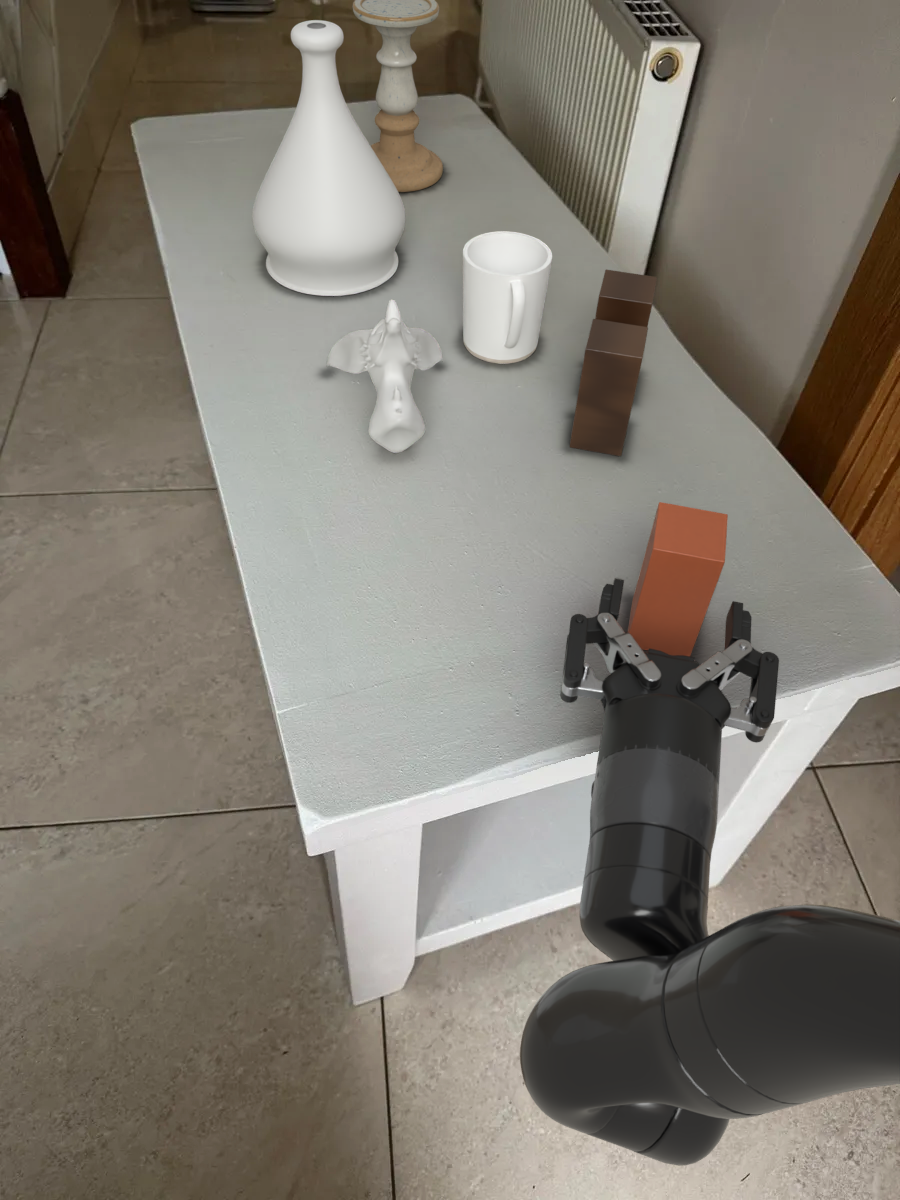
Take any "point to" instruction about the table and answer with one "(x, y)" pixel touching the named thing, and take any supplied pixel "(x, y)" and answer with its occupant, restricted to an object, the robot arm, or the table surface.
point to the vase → (327, 187)
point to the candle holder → (400, 91)
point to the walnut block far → (626, 298)
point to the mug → (504, 295)
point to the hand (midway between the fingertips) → (675, 597)
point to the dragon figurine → (390, 374)
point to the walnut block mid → (607, 386)
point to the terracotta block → (677, 578)
